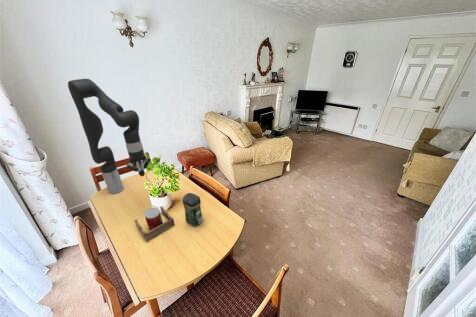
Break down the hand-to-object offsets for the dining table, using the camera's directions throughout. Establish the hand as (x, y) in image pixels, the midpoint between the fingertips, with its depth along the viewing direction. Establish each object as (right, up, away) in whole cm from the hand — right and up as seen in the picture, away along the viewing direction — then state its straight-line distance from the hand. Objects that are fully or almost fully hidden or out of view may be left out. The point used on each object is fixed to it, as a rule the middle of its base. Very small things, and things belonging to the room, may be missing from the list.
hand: (142, 175), depth 113 cm
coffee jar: (+29, -27, +3) cm, 40 cm away
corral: (+8, -29, -1) cm, 30 cm away
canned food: (+8, -29, -1) cm, 30 cm away
